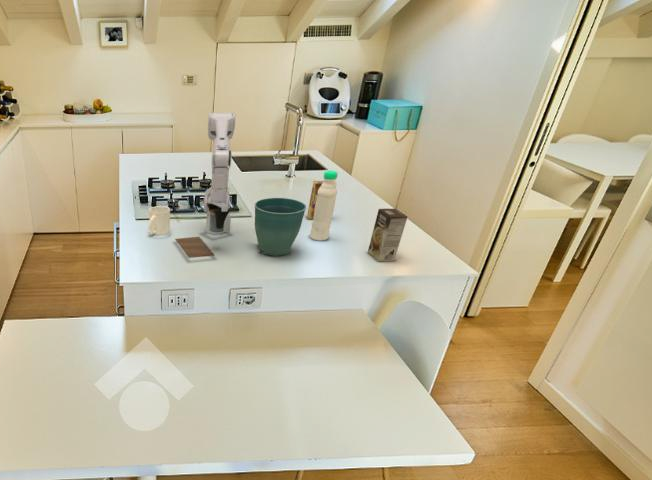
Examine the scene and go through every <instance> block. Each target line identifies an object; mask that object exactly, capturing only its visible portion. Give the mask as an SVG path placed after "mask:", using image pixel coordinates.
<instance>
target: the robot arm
mask: <svg viewBox="0 0 652 480" xmlns="http://www.w3.org/2000/svg"><path fill="white" fill-rule="evenodd" d="M207 119H208V121H207V136H208V139H210V140H212V144H213V145H212V147H213V148H212V149H213V150H212V152H211V185H210V187H208V188H207V189H206V190H205V192H204V196H203V198H204V199H203V211H204V213H206V219H205V221H206V222H205V233H206V234H209V235H213V236H215V235H221V234H223V233H231V222H232V221H231V220H232V218H231V213H230V212H231V210H230V202H231V201H230V200H231V199H230V191H229V190H228V187H229V177H230V176H229V175H230V169H231V166H232V155H233V154H232V148H231V141H230V140H231V139H233V136H234V134H235V129H236V113H235V112H234V111H233V112H209V113H208V118H207ZM211 210H213V211H214V213H215V218H216V228H217V229H222V228H223V225H224V231H223V232H211V231H209V223H210V211H211Z"/></svg>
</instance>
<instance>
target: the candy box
mask: <svg viewBox="0 0 652 480" xmlns="http://www.w3.org/2000/svg"><path fill="white" fill-rule="evenodd" d="M323 182H324V180H313V181H312V188H311V193H310V198H309V203H308V209H307V214H306V217H307V219H308V220H313V218H314V210H315V204H316V200H317V196H318V194H317V193H318V190H319V188H320V187H321V185H322V183H323ZM335 184H336V185H337V182H336V181H335Z"/></svg>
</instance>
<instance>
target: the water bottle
mask: <svg viewBox="0 0 652 480" xmlns="http://www.w3.org/2000/svg"><path fill="white" fill-rule="evenodd" d="M337 178H338V172H337V171H336V170H326V171H324V172H323V181H324V182H323V183H322V185H321V187H320V188H319V190H318V193H317V194H318V196H317V200H316V204H315V210H314V218H313V219H312V222H311V228H310V232H309V237H310V239H312V240H315V241H326V240H328V238H329V235H330V228H331V224H332V219H333V214H334V211H335V206H336V205H335V204H336V200H337V198H336V197H337V195H338V188H337V183H336V184H335V182H336V180H337Z"/></svg>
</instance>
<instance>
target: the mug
mask: <svg viewBox="0 0 652 480" xmlns="http://www.w3.org/2000/svg"><path fill="white" fill-rule="evenodd" d="M148 211H149V213H148V214H149V217H148V219H149V221H148V232H149V234H150V235H151V236H152V235H156V236H163V235H168V234H169V233H171V208H170V207H168V206H164V205H159V206H157V205H156V206H152V207H150V208H149V209H148Z"/></svg>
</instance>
